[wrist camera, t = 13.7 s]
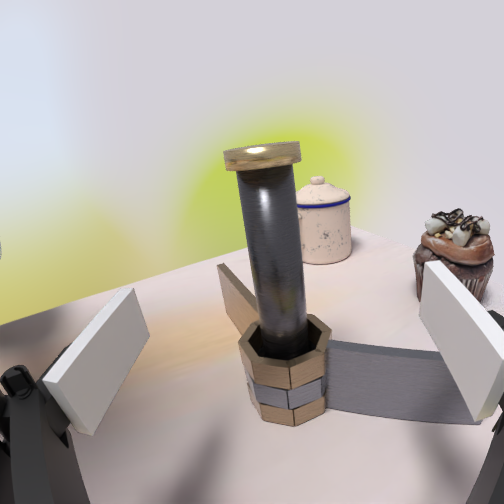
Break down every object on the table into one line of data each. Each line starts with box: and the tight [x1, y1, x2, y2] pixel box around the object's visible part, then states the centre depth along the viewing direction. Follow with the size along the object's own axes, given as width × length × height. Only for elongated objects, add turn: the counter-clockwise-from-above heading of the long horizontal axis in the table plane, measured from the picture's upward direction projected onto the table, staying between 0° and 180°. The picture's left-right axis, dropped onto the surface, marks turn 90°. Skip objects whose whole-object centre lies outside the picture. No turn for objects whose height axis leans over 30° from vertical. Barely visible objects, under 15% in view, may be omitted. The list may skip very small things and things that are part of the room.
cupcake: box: [413, 208, 495, 303], centre depth 29 cm, size 10×10×10 cm
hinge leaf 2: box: [244, 340, 483, 424], centre depth 19 cm, size 18×6×6 cm, turn 62°
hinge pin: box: [223, 141, 309, 361], centre depth 19 cm, size 4×4×18 cm
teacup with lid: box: [296, 176, 351, 264], centre depth 45 cm, size 12×9×12 cm
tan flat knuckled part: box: [217, 263, 332, 426], centre depth 27 cm, size 18×6×6 cm, turn 22°
